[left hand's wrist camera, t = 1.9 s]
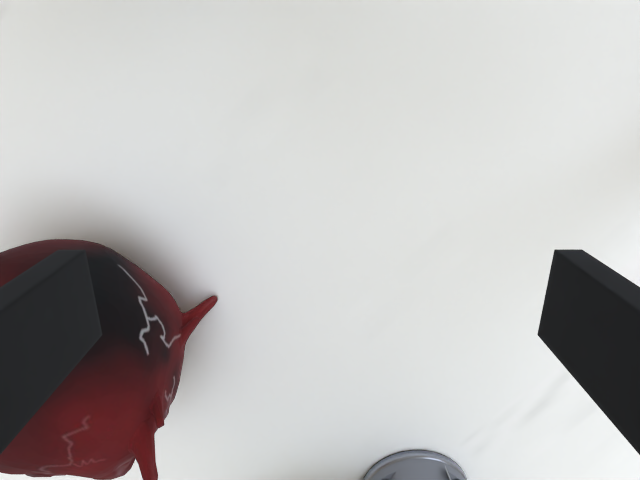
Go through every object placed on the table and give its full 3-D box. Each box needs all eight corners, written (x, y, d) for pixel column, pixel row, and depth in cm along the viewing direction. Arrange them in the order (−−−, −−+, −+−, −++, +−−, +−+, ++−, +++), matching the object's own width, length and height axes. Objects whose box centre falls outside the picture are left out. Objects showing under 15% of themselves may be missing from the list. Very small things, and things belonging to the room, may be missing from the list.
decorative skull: (66, 549, 46) (197, 484, 34) (-205, 471, 36) (-160, 342, 24) (142, 373, 62) (248, 287, 50) (-31, 289, 53) (47, 157, 41)
